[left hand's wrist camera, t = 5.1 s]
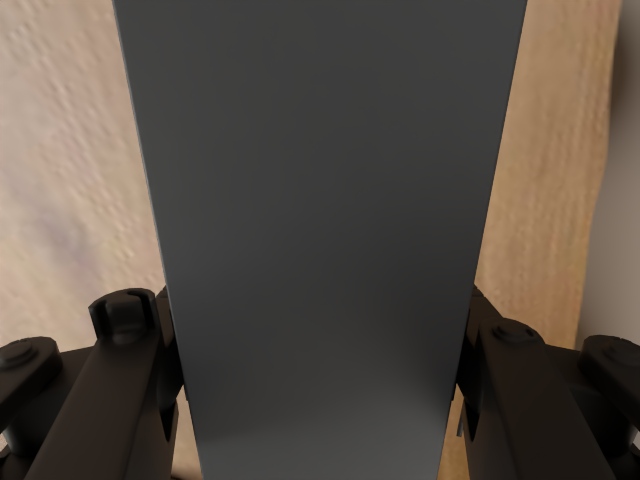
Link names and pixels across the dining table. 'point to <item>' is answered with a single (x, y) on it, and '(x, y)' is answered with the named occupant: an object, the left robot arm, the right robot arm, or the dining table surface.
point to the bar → (319, 217)
